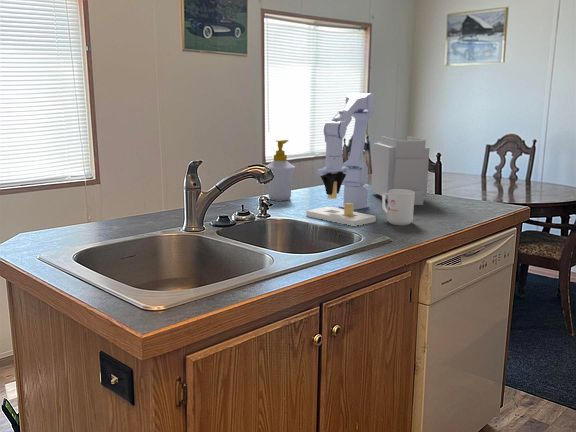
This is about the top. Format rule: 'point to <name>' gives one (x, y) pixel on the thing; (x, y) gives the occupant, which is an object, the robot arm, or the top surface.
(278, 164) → the soap bottle
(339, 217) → the housing
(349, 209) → the peg
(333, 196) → the peg
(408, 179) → the light grey angular block
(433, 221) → the top surface
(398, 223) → the mug
